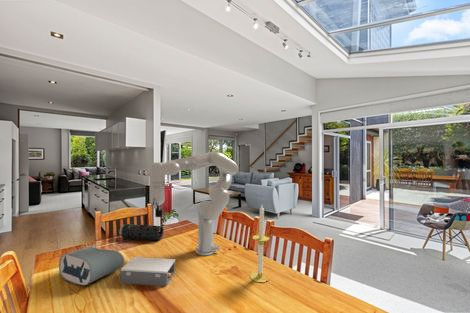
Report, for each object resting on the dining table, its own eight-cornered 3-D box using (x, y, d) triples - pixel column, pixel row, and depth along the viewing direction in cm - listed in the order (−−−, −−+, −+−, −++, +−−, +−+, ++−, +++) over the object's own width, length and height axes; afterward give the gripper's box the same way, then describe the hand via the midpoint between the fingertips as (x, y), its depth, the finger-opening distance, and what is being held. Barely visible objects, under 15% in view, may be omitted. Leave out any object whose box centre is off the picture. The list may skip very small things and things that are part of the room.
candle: (254, 284, 109) (256, 206, 108) (247, 273, 118) (249, 202, 117) (273, 281, 111) (275, 205, 110) (265, 271, 121) (267, 201, 120)
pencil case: (58, 278, 109) (59, 251, 109) (95, 262, 127) (96, 239, 127) (89, 290, 101) (91, 261, 101) (124, 271, 119) (125, 246, 119)
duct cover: (175, 260, 117) (175, 259, 117) (166, 273, 105) (166, 271, 105) (133, 258, 119) (133, 256, 119) (120, 270, 107) (120, 268, 107)
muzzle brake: (158, 243, 154) (158, 228, 153) (118, 241, 156) (118, 226, 155) (163, 238, 163) (163, 223, 163) (126, 235, 165) (126, 221, 165)
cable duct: (174, 272, 118) (175, 260, 117) (165, 287, 105) (166, 274, 105) (133, 269, 119) (133, 258, 119) (119, 284, 106) (120, 271, 106)
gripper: (156, 182, 135) (157, 212, 136) (145, 186, 120) (146, 220, 121) (169, 182, 135) (169, 212, 136) (159, 186, 120) (160, 221, 121)
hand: (158, 216), depth 128 cm, fingers closed
